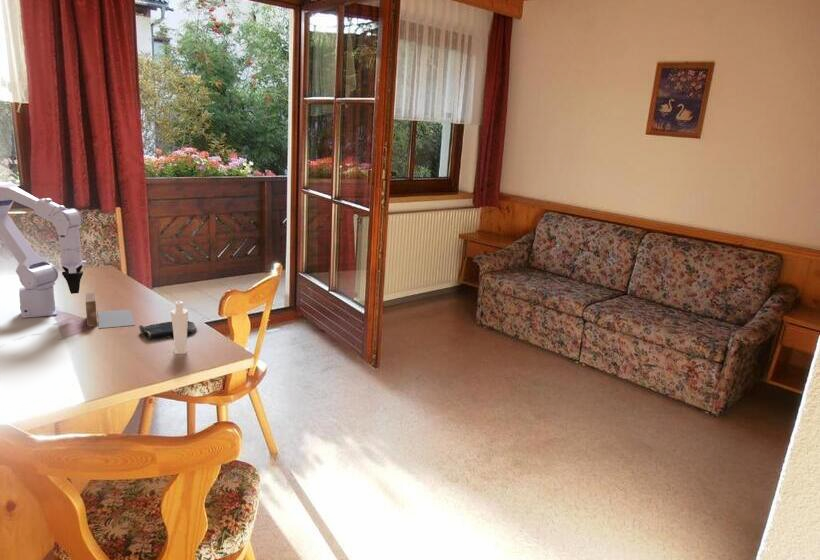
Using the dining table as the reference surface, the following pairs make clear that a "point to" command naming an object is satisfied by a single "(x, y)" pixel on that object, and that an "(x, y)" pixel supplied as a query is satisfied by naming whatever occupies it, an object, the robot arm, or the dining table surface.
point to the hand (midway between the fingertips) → (74, 289)
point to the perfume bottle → (180, 328)
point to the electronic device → (163, 330)
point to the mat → (115, 318)
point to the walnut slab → (91, 309)
